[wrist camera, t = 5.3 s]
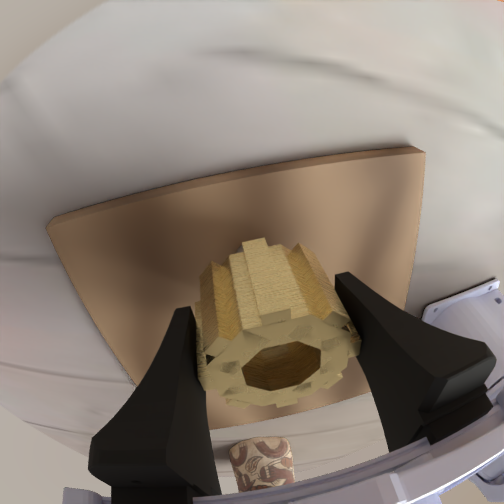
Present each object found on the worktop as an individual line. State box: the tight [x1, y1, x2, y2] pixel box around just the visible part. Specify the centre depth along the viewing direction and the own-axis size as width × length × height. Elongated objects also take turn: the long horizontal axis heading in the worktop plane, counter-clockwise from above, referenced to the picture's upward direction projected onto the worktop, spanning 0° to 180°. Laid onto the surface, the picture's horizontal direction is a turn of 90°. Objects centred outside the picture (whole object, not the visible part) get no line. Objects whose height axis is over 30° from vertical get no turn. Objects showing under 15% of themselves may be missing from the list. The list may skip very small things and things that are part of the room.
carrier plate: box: [46, 146, 426, 430], centre depth 19 cm, size 20×22×5 cm
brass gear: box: [195, 238, 362, 409], centre depth 12 cm, size 6×6×4 cm
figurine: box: [229, 437, 295, 493], centre depth 27 cm, size 7×7×12 cm
